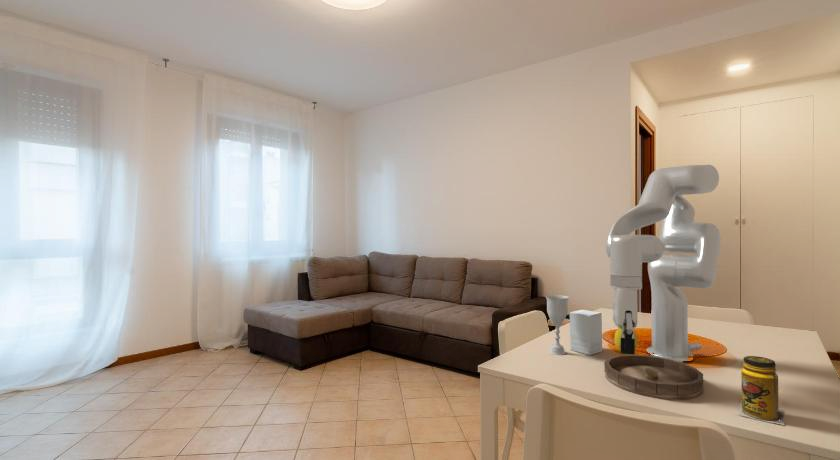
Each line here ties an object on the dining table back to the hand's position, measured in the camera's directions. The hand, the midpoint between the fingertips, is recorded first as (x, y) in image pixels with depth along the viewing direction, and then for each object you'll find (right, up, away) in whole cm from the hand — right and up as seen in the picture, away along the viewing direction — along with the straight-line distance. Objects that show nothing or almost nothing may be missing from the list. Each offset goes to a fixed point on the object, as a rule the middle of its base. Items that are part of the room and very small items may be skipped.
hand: (625, 349), depth 106 cm
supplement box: (-1, -8, +25) cm, 26 cm away
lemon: (0, -2, 0) cm, 2 cm away
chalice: (-10, -8, +23) cm, 26 cm away
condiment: (+19, -8, -20) cm, 29 cm away
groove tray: (+6, -8, -2) cm, 10 cm away
